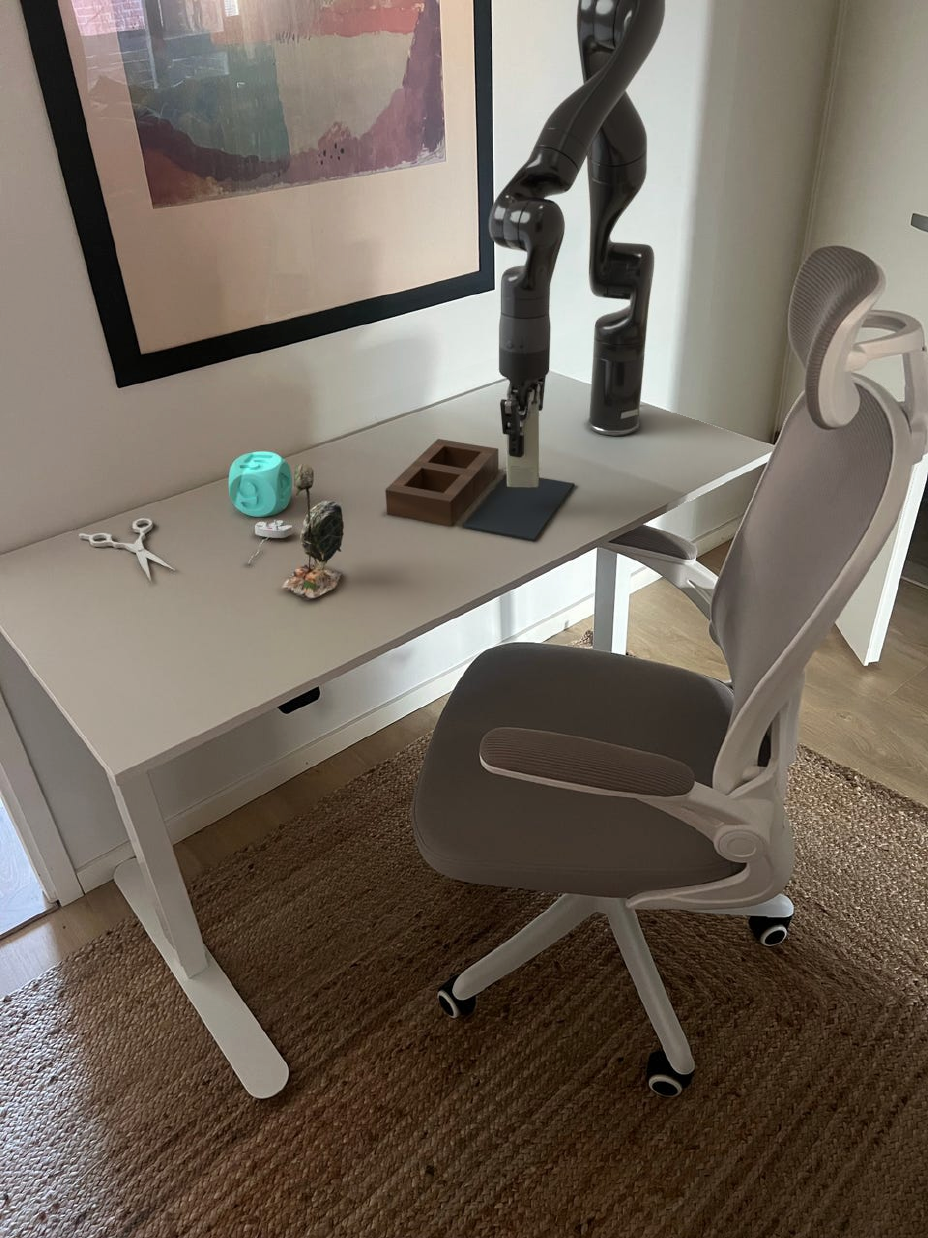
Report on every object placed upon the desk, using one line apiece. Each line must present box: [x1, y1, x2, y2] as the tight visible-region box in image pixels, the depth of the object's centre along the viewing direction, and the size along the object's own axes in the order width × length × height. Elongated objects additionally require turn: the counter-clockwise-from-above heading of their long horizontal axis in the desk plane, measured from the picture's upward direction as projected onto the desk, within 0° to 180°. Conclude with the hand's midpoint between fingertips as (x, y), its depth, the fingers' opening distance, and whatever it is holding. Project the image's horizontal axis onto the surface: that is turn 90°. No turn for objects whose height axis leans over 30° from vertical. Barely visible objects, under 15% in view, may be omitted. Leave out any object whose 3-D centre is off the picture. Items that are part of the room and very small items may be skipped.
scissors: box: [78, 518, 176, 581], centre depth 151 cm, size 11×1×20 cm
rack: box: [384, 438, 499, 527], centre depth 164 cm, size 21×11×4 cm, turn 157°
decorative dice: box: [228, 451, 293, 518], centre depth 161 cm, size 8×8×8 cm
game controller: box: [248, 519, 293, 565], centre depth 151 cm, size 6×12×3 cm, turn 2°
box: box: [505, 402, 540, 488], centre depth 154 cm, size 5×4×13 cm
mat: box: [462, 473, 575, 542], centre depth 161 cm, size 20×12×1 cm, turn 157°
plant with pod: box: [281, 463, 345, 601], centre depth 138 cm, size 8×11×20 cm
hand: (522, 448), depth 154 cm, fingers closed on box, 5 cm apart
